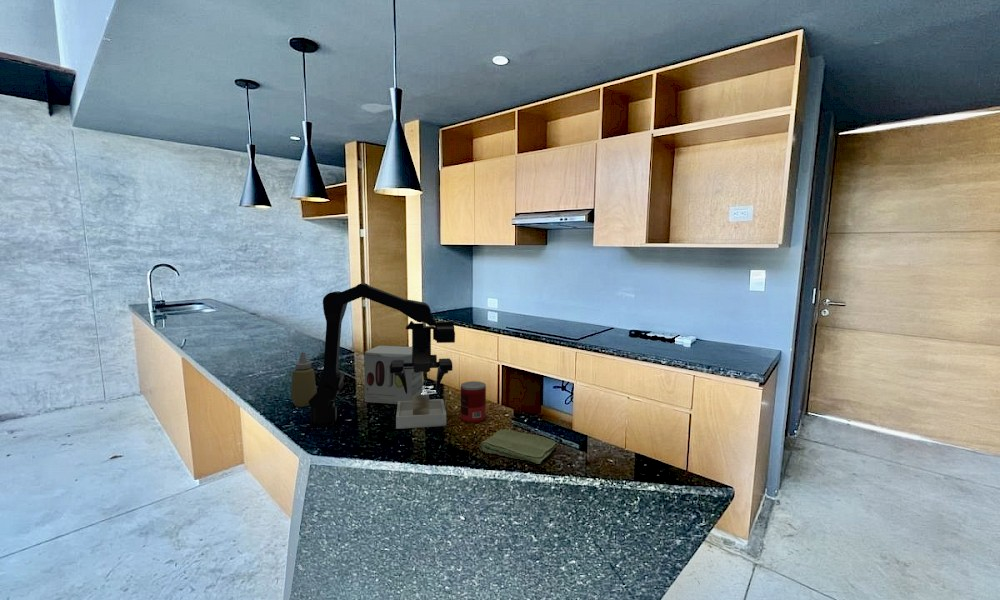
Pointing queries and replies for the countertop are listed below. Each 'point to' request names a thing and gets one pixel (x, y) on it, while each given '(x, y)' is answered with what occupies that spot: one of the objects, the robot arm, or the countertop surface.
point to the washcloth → (518, 445)
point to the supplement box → (389, 376)
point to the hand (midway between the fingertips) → (421, 392)
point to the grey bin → (414, 421)
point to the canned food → (473, 401)
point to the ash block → (420, 404)
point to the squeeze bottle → (303, 383)
